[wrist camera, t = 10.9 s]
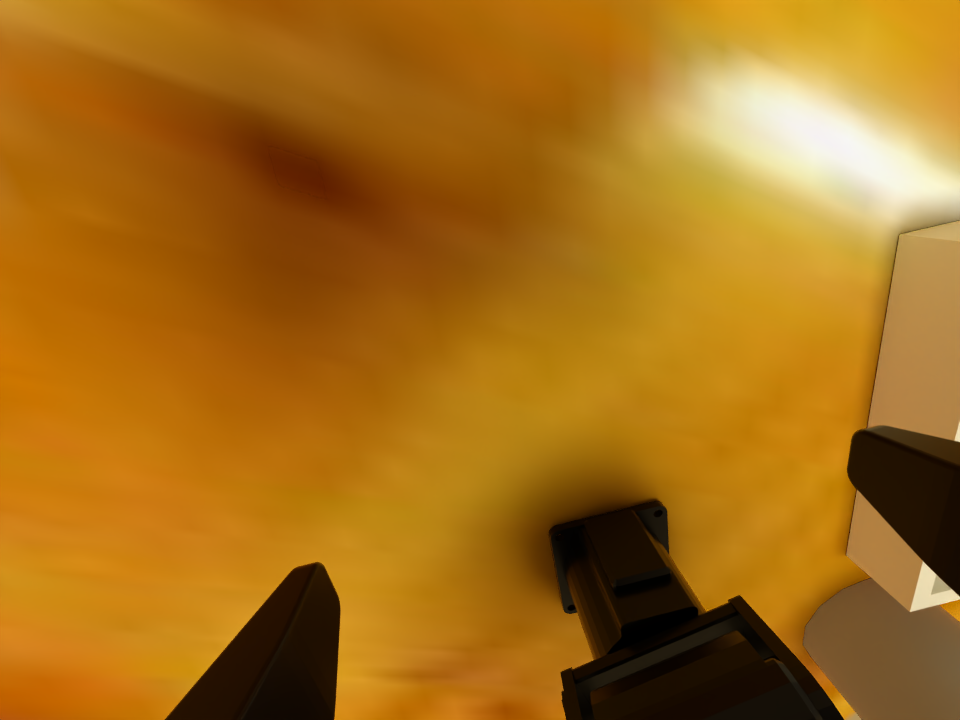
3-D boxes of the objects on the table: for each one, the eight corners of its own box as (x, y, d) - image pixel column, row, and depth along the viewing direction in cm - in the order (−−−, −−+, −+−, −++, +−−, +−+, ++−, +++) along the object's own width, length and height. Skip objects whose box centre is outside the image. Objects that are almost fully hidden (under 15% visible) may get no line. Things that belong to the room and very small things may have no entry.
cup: (846, 569, 29) (1046, 754, 19) (942, 582, 30) (1168, 758, 21) (782, 659, 31) (930, 857, 22) (873, 666, 33) (1046, 854, 24)
